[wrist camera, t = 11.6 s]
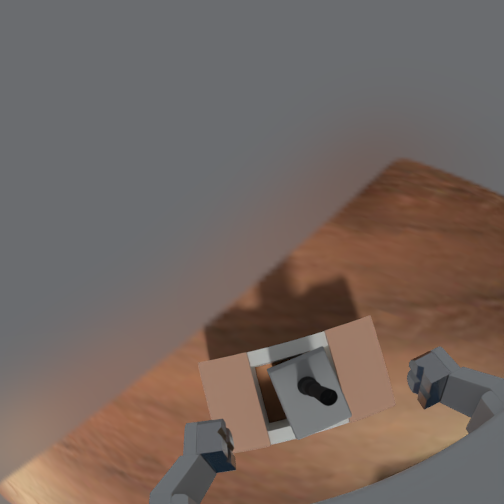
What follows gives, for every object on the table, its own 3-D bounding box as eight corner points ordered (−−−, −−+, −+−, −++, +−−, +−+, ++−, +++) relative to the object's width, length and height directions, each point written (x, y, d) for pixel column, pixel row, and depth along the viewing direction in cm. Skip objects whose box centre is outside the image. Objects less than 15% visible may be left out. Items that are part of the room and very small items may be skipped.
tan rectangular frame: (357, 324, 33) (370, 315, 28) (379, 400, 29) (396, 404, 24) (210, 364, 33) (197, 362, 28) (230, 442, 29) (221, 455, 24)
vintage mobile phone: (288, 407, 30) (308, 491, 7) (272, 369, 32) (255, 368, 9) (319, 395, 30) (407, 444, 7) (303, 357, 32) (357, 323, 9)
